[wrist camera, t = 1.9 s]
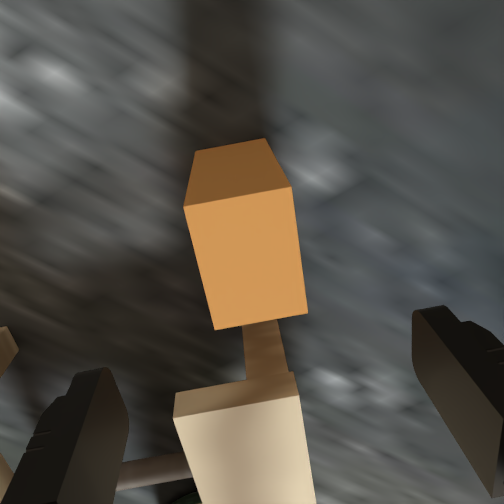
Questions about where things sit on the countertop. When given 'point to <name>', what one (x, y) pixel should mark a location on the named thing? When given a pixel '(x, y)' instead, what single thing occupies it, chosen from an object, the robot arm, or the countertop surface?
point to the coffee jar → (189, 499)
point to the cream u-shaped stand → (228, 432)
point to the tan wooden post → (245, 234)
